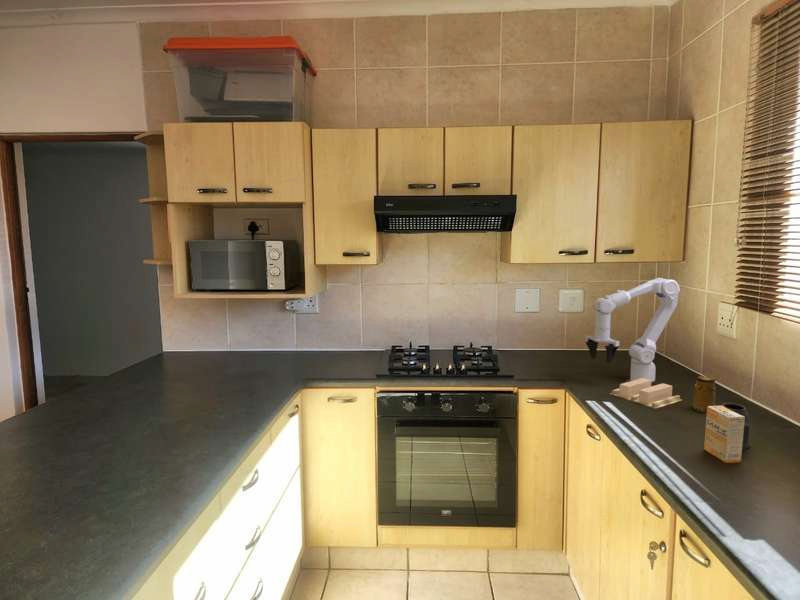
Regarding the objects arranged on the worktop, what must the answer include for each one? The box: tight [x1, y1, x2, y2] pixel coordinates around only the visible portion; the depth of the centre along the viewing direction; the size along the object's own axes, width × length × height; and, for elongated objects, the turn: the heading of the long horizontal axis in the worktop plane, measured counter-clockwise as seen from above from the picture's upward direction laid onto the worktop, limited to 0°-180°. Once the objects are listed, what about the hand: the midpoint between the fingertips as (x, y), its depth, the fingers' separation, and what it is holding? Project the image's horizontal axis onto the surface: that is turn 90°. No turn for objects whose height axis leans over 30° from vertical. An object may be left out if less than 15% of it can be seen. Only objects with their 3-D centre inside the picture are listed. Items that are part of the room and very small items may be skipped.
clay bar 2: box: [639, 383, 673, 405], centre depth 172 cm, size 14×4×4 cm, turn 119°
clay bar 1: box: [619, 378, 652, 400], centre depth 178 cm, size 14×4×4 cm, turn 120°
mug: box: [721, 402, 751, 451], centre depth 135 cm, size 12×9×11 cm
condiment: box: [692, 375, 716, 414], centre depth 160 cm, size 7×8×12 cm
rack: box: [609, 387, 682, 409], centre depth 175 cm, size 16×18×2 cm
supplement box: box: [703, 405, 745, 464], centre depth 129 cm, size 8×5×13 cm, turn 5°
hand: (601, 360), depth 193 cm, fingers open, 7 cm apart
